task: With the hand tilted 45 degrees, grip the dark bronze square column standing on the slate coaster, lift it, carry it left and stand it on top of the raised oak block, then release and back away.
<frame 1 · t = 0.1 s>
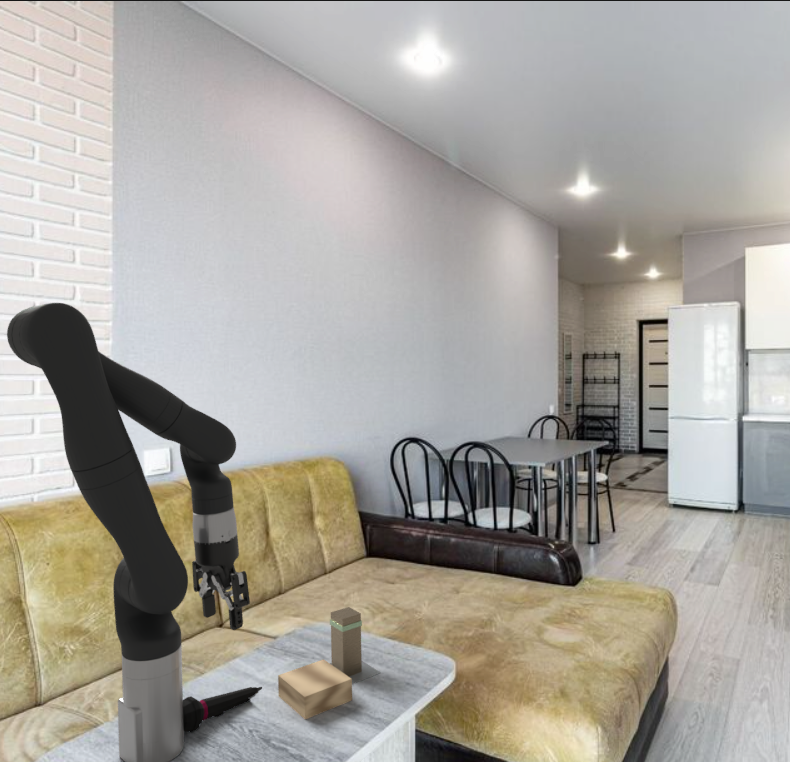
hand: (223, 621, 113), 17 cm above the table, tool pointing down, fingers open, 8 cm apart
coaster: (346, 675, 128), on the table
microphone: (225, 715, 115), on the table
column: (346, 671, 128), point 1 cm above the table, touching coaster
rest block: (315, 703, 118), on the table
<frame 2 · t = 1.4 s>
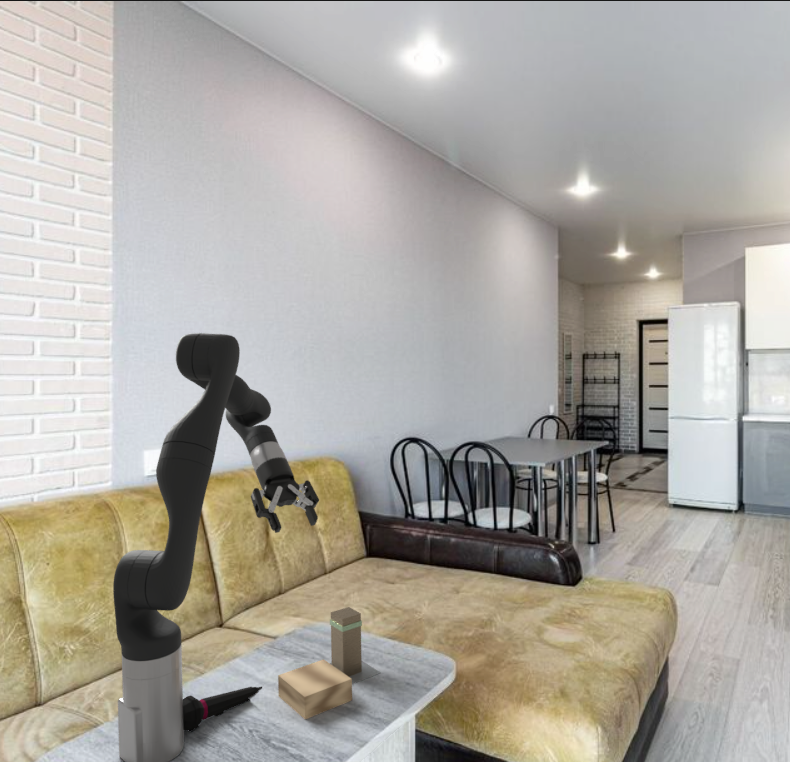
hand: (296, 527, 134), 29 cm above the table, tool tilted 45°, fingers open, 8 cm apart
nothing on the table moved.
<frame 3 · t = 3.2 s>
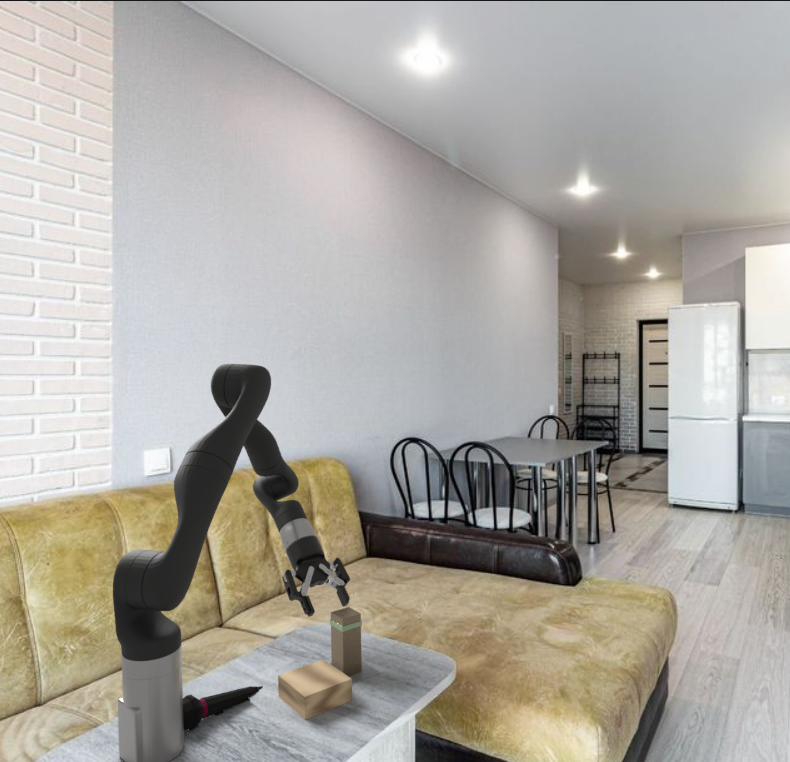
hand: (329, 609, 132), 12 cm above the table, tool tilted 45°, fingers open, 8 cm apart
nothing on the table moved.
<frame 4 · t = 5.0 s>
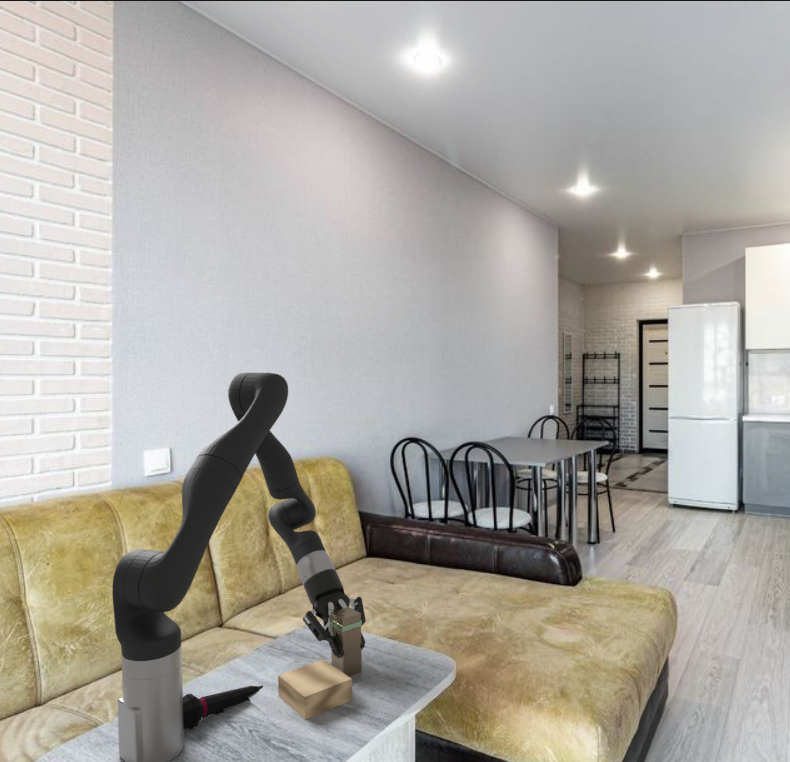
hand: (351, 652, 126), 6 cm above the table, tool tilted 45°, fingers closed on column, 4 cm apart
column: (346, 671, 128), point 1 cm above the table, touching coaster, gripper
everything else where it was.
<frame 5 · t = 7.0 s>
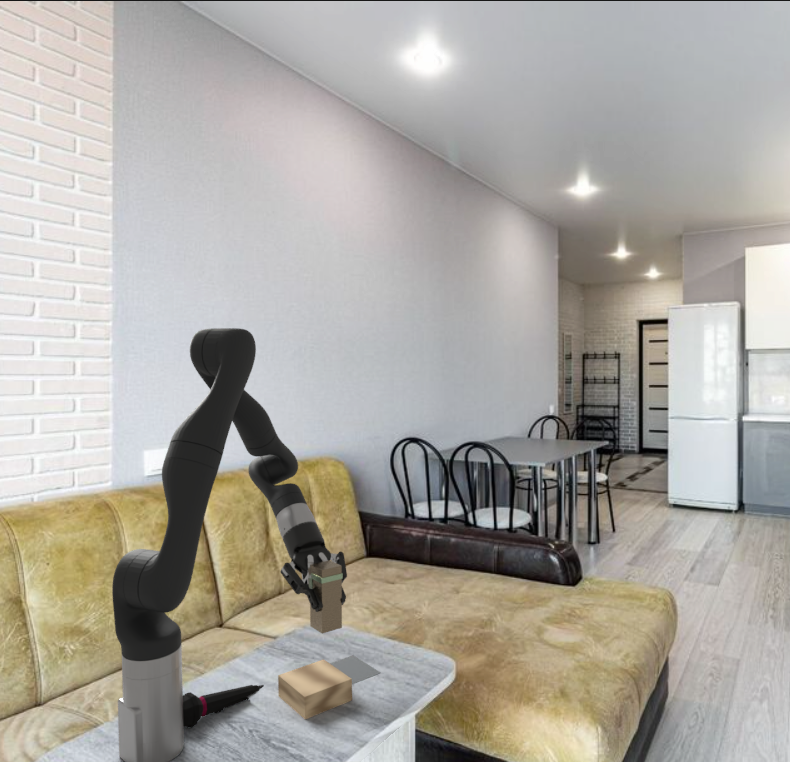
hand: (331, 606, 120), 17 cm above the table, tool tilted 45°, fingers closed on column, 4 cm apart
column: (326, 627, 121), point 13 cm above the table, touching gripper
when the fingers open (11 cm above the table, at t = 9.1 s): column drops 1 cm, resting on rest block.
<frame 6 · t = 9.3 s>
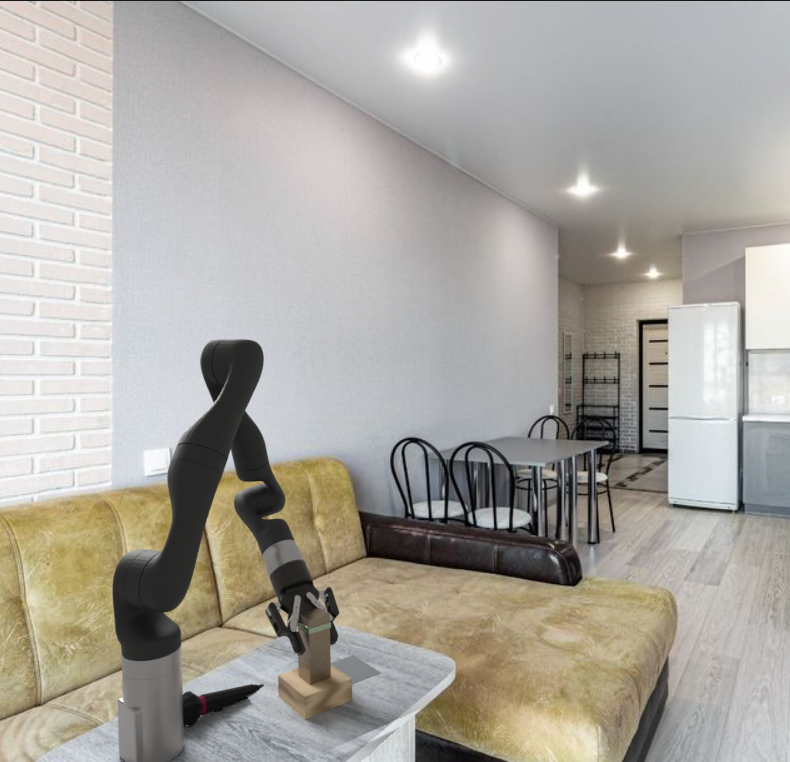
hand: (318, 647, 116), 11 cm above the table, tool tilted 45°, fingers open, 6 cm apart
column: (314, 676, 118), point 5 cm above the table, touching rest block
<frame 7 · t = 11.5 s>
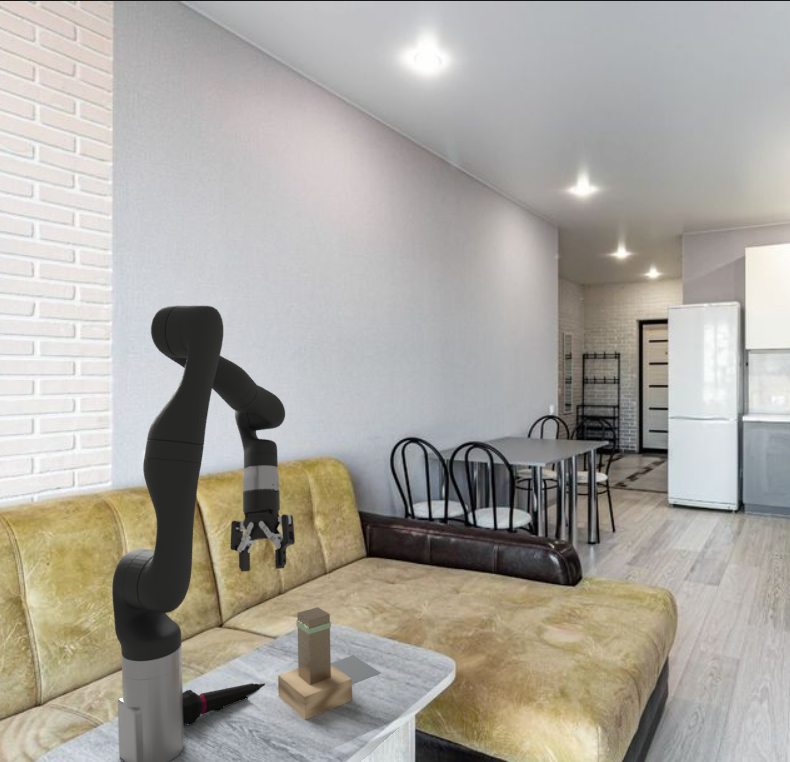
hand: (262, 570, 127), 22 cm above the table, tool tilted 20°, fingers open, 8 cm apart
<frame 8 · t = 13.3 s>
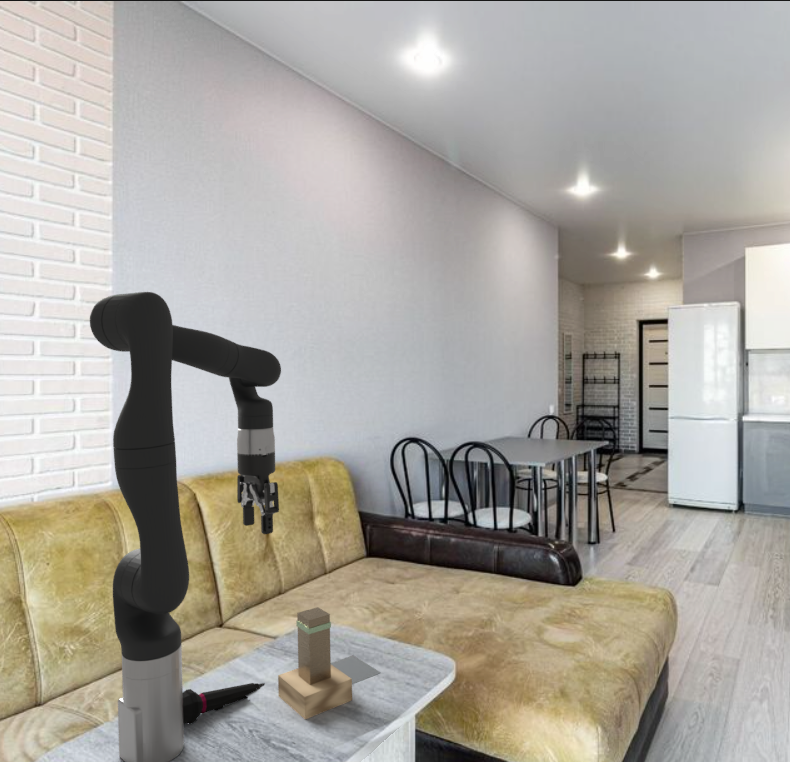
hand: (257, 529, 128), 30 cm above the table, tool pointing down, fingers open, 8 cm apart
at the end: column inside the target area on the rest block (0.1 cm from its centre), point 5.0 cm above the rest block's base; column tilted 0°; the gripper is holding nothing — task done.
